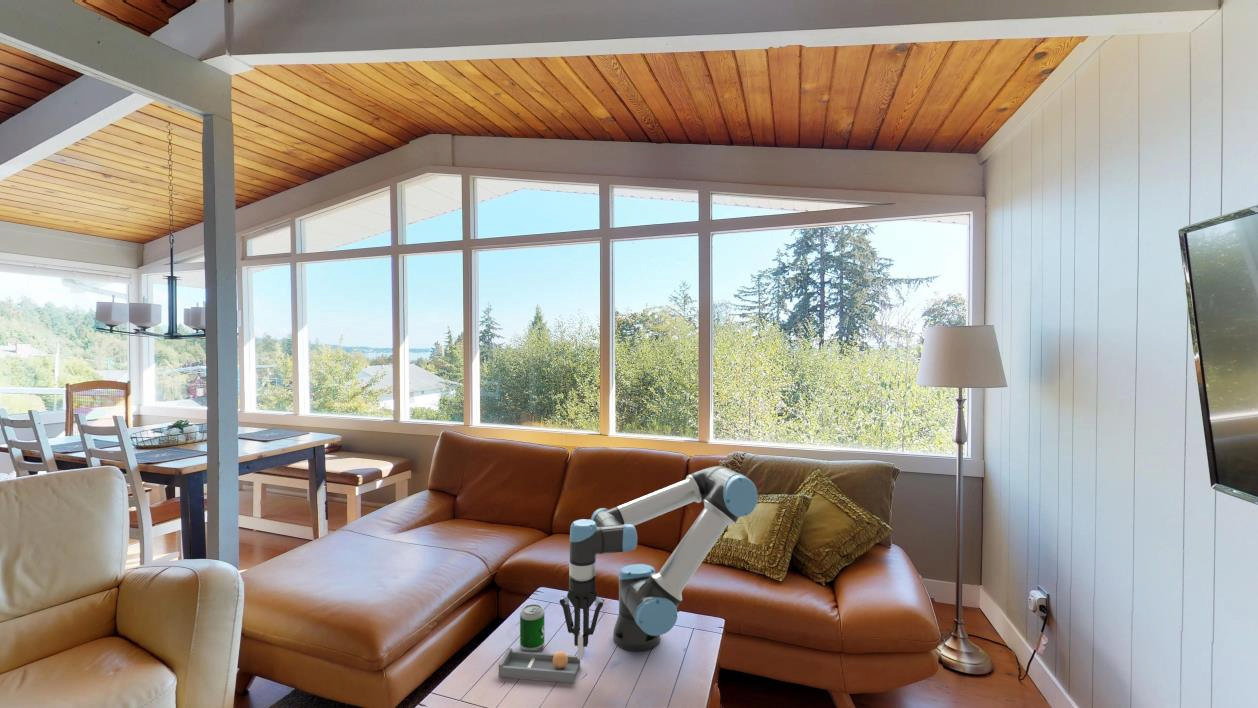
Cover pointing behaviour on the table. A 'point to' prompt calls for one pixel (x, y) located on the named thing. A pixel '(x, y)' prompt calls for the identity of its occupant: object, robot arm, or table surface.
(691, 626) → the table surface
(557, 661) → the ball
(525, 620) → the soda can
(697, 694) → the table surface
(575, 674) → the lane
